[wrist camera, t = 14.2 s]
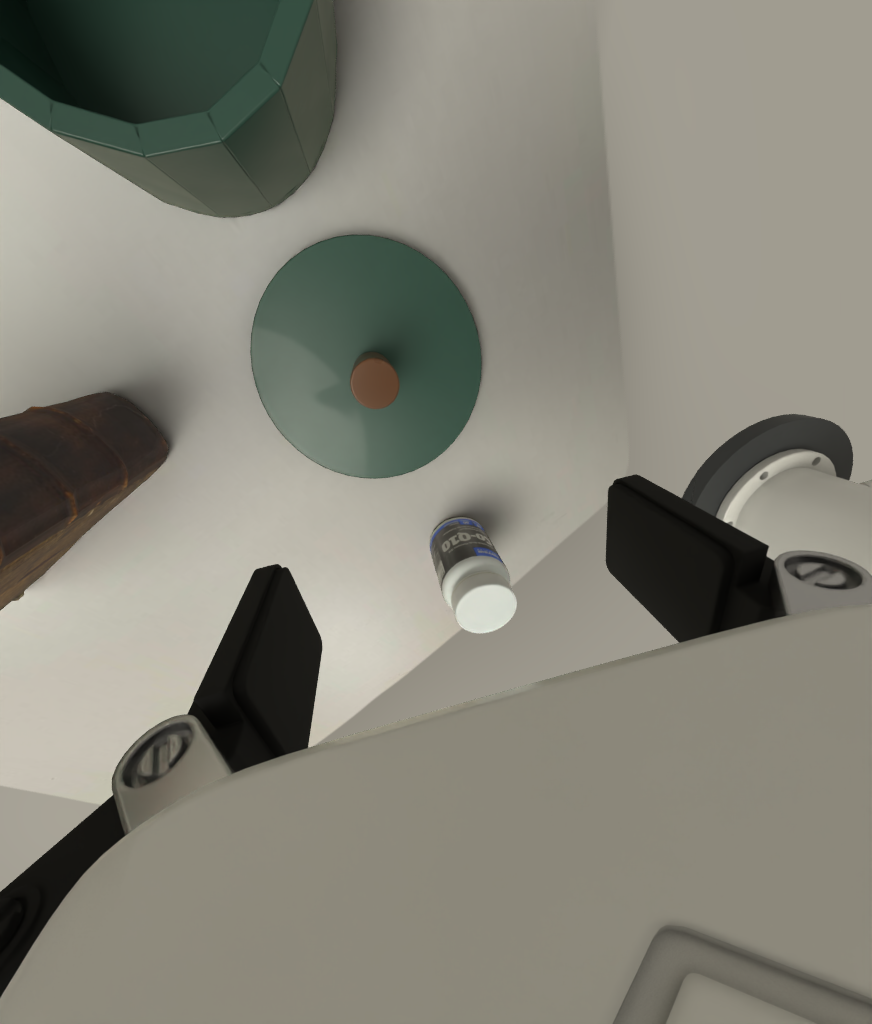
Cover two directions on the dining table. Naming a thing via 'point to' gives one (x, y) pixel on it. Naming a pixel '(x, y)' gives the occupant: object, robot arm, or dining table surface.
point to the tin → (180, 91)
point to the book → (66, 478)
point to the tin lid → (366, 356)
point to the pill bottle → (472, 575)
